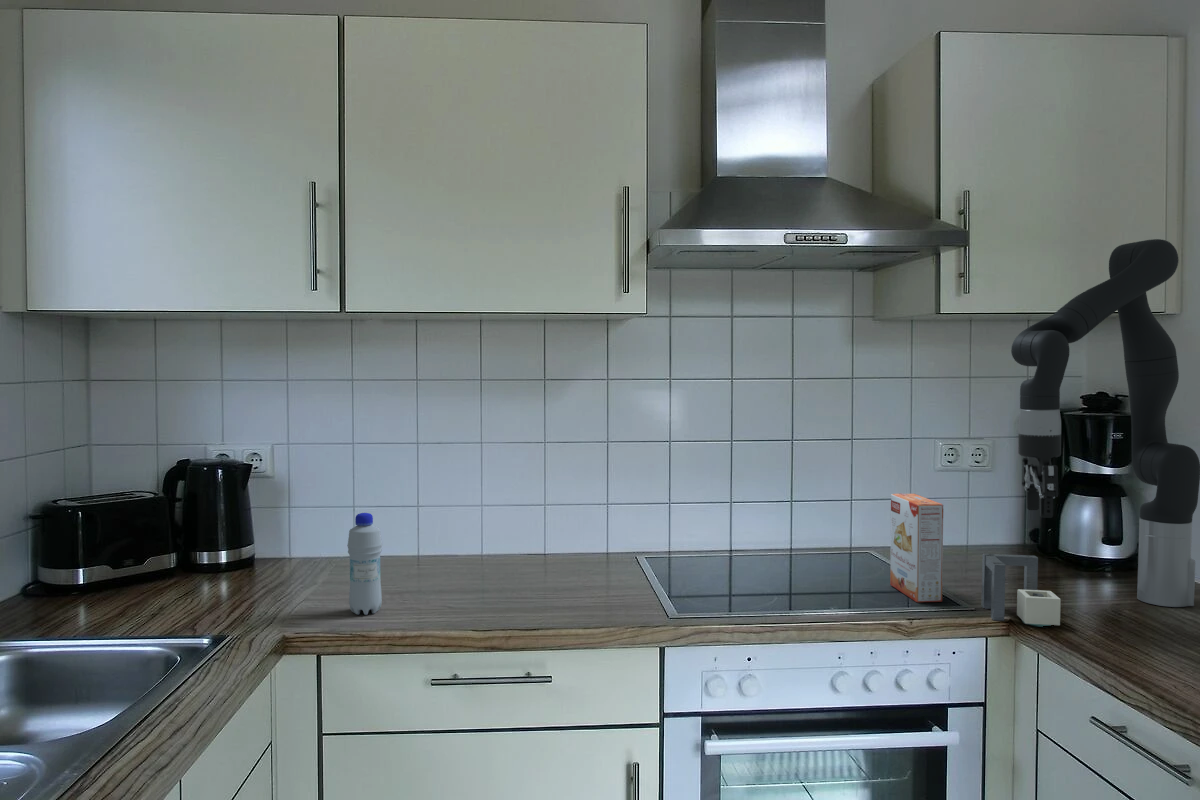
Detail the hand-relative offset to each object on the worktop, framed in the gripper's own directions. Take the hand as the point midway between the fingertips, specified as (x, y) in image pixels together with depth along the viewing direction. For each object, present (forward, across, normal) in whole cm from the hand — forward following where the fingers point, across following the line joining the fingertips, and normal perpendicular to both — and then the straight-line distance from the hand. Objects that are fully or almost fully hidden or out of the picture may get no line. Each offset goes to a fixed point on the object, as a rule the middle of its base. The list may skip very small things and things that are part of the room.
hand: (1039, 513), depth 173 cm
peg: (+20, -6, +2) cm, 21 cm away
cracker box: (+20, +11, +22) cm, 31 cm away
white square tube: (+19, -6, +2) cm, 21 cm away
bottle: (+17, -22, +133) cm, 136 cm away
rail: (+20, -1, +5) cm, 21 cm away
